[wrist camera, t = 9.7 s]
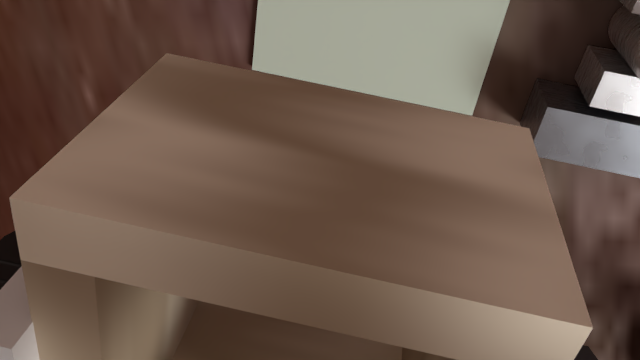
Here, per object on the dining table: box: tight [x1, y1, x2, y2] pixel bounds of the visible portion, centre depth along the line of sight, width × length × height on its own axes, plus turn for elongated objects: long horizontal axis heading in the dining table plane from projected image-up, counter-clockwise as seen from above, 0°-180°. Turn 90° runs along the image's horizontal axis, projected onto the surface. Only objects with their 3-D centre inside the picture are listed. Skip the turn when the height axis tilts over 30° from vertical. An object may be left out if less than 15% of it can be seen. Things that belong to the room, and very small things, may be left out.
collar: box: [9, 53, 593, 360], centre depth 11 cm, size 7×7×5 cm
